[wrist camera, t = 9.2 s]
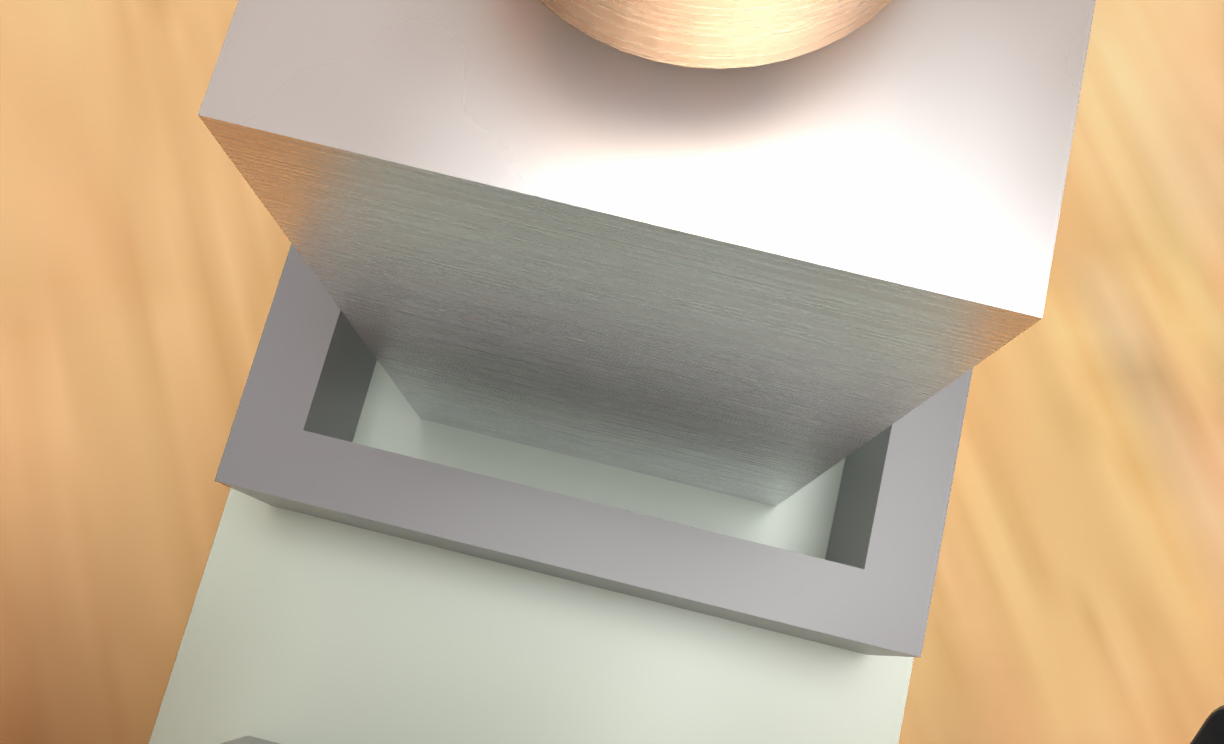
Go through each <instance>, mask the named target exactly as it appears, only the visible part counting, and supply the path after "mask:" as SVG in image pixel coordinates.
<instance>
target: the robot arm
mask: <svg viewBox="0 0 1224 744" xmlns="http://www.w3.org/2000/svg"><path fill="white" fill-rule="evenodd" d="M1190 744H1224V705H1223V706H1220V707H1219V708H1217V709H1216V710H1214V711H1213V712H1212V713H1211V714H1210V715H1209V717H1208V718H1207V719H1206V721H1205V722H1204V724H1203V725H1202V727H1201V728H1200V730H1199V731H1198V733H1197V734H1196V736H1195V737H1194V739H1193V740H1192V742H1191V743H1190Z"/></svg>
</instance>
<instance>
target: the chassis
mask: <svg viewBox="0 0 1224 744" xmlns="http://www.w3.org/2000/svg"><path fill="white" fill-rule="evenodd" d="M972 369H973V368H971V369H970V370H968V371H967V372H966V373H964V374H963V375H961V376H960V377H959V378H957V379H956V380H954V381H953V382H951V383H950V384H949V385H947V386H946V387H944V388H943V389H942V390H940V391H939V392H937V393H936V394H935V395H933V396H932V397H930V398H929V399H927V400H926V401H925V402H923V403H922V404H920V405H919V406H918V407H916V408H915V409H913V410H912V411H911V412H909V413H908V414H906V415H905V416H903V417H902V418H901V419H899V420H898V421H896V422H895V423H894V424H892V425H891V426H889V427H888V428H886V429H885V430H884V431H882V432H881V433H879V434H878V435H877V436H875V437H874V438H872V439H871V440H870V441H868V442H867V443H865V444H864V445H862V446H861V447H860V448H858V449H857V450H855V451H854V452H853V453H851V454H850V455H848V456H847V457H845V458H844V459H843V460H841V461H840V462H838V463H837V464H836V465H834V466H833V467H831V468H830V469H829V470H827V471H826V472H824V473H823V474H821V475H820V476H819V477H817V478H816V479H814V480H813V481H812V482H810V483H809V484H807V485H806V486H805V487H803V488H802V489H800V490H799V491H797V492H796V493H795V494H793V495H792V496H790V497H789V498H788V499H786V500H785V501H783V502H782V503H780V504H779V505H778V506H776V507H775V506H771V505H767V504H762V503H758V502H754V501H750V500H746V499H742V498H738V497H734V496H730V495H726V494H722V493H718V492H714V491H710V490H706V489H702V488H698V487H694V486H690V485H686V484H682V483H678V482H674V481H670V480H666V479H662V478H658V477H654V476H649V475H645V474H641V473H637V472H633V471H629V470H625V469H621V468H617V467H613V466H609V465H605V464H601V463H597V462H593V461H589V460H585V459H581V458H577V457H573V456H569V455H565V454H561V453H557V452H553V451H549V450H545V449H541V448H536V447H532V446H528V445H524V444H520V443H516V442H512V441H508V440H504V439H500V438H496V437H492V436H488V435H484V434H480V433H476V432H472V431H468V430H464V429H460V428H456V427H452V426H448V425H444V424H440V423H436V422H432V421H428V420H423V419H420V418H419V416H418V415H417V414H416V412H415V411H414V409H413V408H412V407H411V405H410V404H409V403H408V401H407V400H406V398H405V397H404V396H403V394H402V393H401V392H400V390H399V389H398V388H397V386H396V385H395V383H394V382H393V381H392V379H391V378H390V377H389V375H388V374H387V373H386V371H385V370H384V368H383V367H382V366H381V364H380V363H379V362H378V360H377V359H376V357H375V356H374V355H373V353H372V352H371V351H370V349H369V348H368V347H367V345H366V344H365V342H364V341H363V340H362V338H361V337H360V336H359V334H358V333H357V331H356V330H355V329H354V327H353V326H352V325H351V323H350V322H349V321H348V319H347V318H346V316H345V315H344V314H343V312H342V311H341V310H340V308H339V307H338V306H337V304H336V303H335V301H334V300H333V299H332V297H331V296H330V295H329V293H328V292H327V290H326V289H325V288H324V286H323V285H322V284H321V282H320V281H319V280H318V278H317V277H316V275H315V274H314V273H313V271H312V270H311V269H310V267H309V266H308V265H307V263H306V262H305V260H304V259H303V258H302V256H301V255H300V254H299V252H298V251H297V249H296V248H295V247H294V245H293V244H291V247H290V250H289V253H288V256H287V259H286V262H285V265H284V269H283V272H282V275H281V278H280V281H279V284H278V287H277V290H276V293H275V296H274V299H273V302H272V305H271V308H270V312H269V315H268V318H267V321H266V324H265V327H264V330H263V333H262V336H261V339H260V342H259V345H258V348H257V352H256V355H255V358H254V361H253V364H252V367H251V370H250V373H249V376H248V379H247V382H246V385H245V388H244V392H243V395H242V398H241V401H240V404H239V407H238V410H237V413H236V416H235V419H234V422H233V425H232V428H231V431H230V435H229V438H228V441H227V444H226V447H225V450H224V453H223V456H222V459H221V462H220V465H219V468H218V471H217V475H216V478H215V481H216V482H219V483H221V484H223V485H226V486H228V487H230V488H231V489H230V493H229V496H228V499H227V502H226V505H225V508H224V511H223V514H222V517H221V521H220V524H219V527H218V530H217V533H216V536H215V539H214V542H213V545H212V549H211V552H210V555H209V558H208V561H207V564H206V567H205V570H204V573H203V577H202V580H201V583H200V586H199V589H198V592H197V595H196V598H195V601H194V605H193V608H192V611H191V614H190V617H189V620H188V623H187V626H186V629H185V633H184V636H183V639H182V642H181V645H180V648H179V651H178V654H177V657H176V661H175V664H174V667H173V670H172V673H171V676H170V679H169V682H168V685H167V689H166V692H165V695H164V698H163V701H162V704H161V707H160V710H159V713H158V717H157V720H156V723H155V726H154V729H153V732H152V735H151V738H150V741H149V744H898V742H899V737H900V731H901V726H902V720H903V715H904V709H905V704H906V698H907V693H908V687H909V681H910V676H911V670H912V665H913V659H914V657H921V653H922V648H923V642H924V637H925V631H926V625H927V620H928V614H929V609H930V603H931V597H932V592H933V586H934V581H935V575H936V570H937V564H938V558H939V553H940V547H941V542H942V536H943V531H944V525H945V519H946V514H947V508H948V503H949V497H950V492H951V486H952V480H953V475H954V469H955V464H956V458H957V452H958V447H959V441H960V436H961V430H962V425H963V419H964V413H965V408H966V402H967V397H968V391H969V386H970V380H971V374H972Z"/></svg>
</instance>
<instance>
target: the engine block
mask: <svg viewBox="0 0 1224 744" xmlns="http://www.w3.org/2000/svg"><path fill="white" fill-rule="evenodd" d="M1095 1H1096V0H239V1H238V4H237V7H236V10H235V13H234V15H233V18H232V21H231V24H230V27H229V29H228V32H227V35H226V38H225V41H224V44H223V46H222V49H221V52H220V55H219V58H218V60H217V63H216V66H215V69H214V72H213V74H212V77H211V80H210V83H209V86H208V89H207V91H206V94H205V97H204V100H203V103H202V105H201V108H200V111H199V114H198V115H199V117H200V118H201V120H202V121H203V122H204V124H205V125H206V126H207V128H208V129H209V131H210V132H211V133H212V135H213V136H214V137H215V139H216V140H217V141H218V143H219V144H220V146H221V147H222V148H223V150H224V151H225V152H226V154H227V155H228V157H229V158H230V159H231V161H232V162H233V163H234V165H235V166H236V167H237V169H238V170H239V172H240V173H241V174H242V176H243V177H244V178H245V180H246V181H247V182H248V184H249V185H250V187H251V188H252V189H253V191H254V192H255V193H256V195H257V196H258V198H259V199H260V200H261V202H262V203H263V204H264V206H265V207H266V208H267V210H268V211H269V213H270V214H271V215H272V217H273V218H274V219H275V221H276V222H277V223H278V225H279V226H280V228H281V229H282V230H283V232H284V233H285V234H286V236H287V237H288V239H289V240H290V241H291V243H292V244H293V245H294V247H295V248H296V249H297V251H298V252H299V254H300V255H301V256H302V258H303V259H304V260H305V262H306V263H307V265H308V266H309V267H310V269H311V270H312V271H313V273H314V274H315V275H316V277H317V278H318V280H319V281H320V282H321V284H322V285H323V286H324V288H325V289H326V290H327V292H328V293H329V295H330V296H331V297H332V299H333V300H334V301H335V303H336V304H337V306H338V307H339V308H340V310H341V311H342V312H343V314H344V315H345V316H346V318H347V319H348V321H349V322H350V323H351V325H352V326H353V327H354V329H355V330H356V331H357V333H358V334H359V336H360V337H361V338H362V340H363V341H364V342H365V344H366V345H367V347H368V348H369V349H370V351H371V352H372V353H373V355H374V356H375V357H376V359H377V360H378V362H379V363H380V364H381V366H382V367H383V368H384V370H385V371H386V373H387V374H388V375H389V377H390V378H391V379H392V381H393V382H394V383H395V385H396V386H397V388H398V389H399V390H400V392H401V393H402V394H403V396H404V397H405V398H406V400H407V401H408V403H409V404H410V405H411V407H412V408H413V409H414V411H415V412H416V414H417V415H418V416H419V418H420V419H423V420H428V421H432V422H436V423H440V424H444V425H448V426H452V427H456V428H460V429H464V430H468V431H472V432H476V433H480V434H484V435H488V436H492V437H496V438H500V439H504V440H508V441H512V442H516V443H520V444H524V445H528V446H532V447H536V448H541V449H545V450H549V451H553V452H557V453H561V454H565V455H569V456H573V457H577V458H581V459H585V460H589V461H593V462H597V463H601V464H605V465H609V466H613V467H617V468H621V469H625V470H629V471H633V472H637V473H641V474H645V475H649V476H654V477H658V478H662V479H666V480H670V481H674V482H678V483H682V484H686V485H690V486H694V487H698V488H702V489H706V490H710V491H714V492H718V493H722V494H726V495H730V496H734V497H738V498H742V499H746V500H750V501H754V502H758V503H762V504H767V505H771V506H775V507H776V506H778V505H779V504H780V503H782V502H783V501H785V500H786V499H788V498H789V497H790V496H792V495H793V494H795V493H796V492H797V491H799V490H800V489H802V488H803V487H805V486H806V485H807V484H809V483H810V482H812V481H813V480H814V479H816V478H817V477H819V476H820V475H821V474H823V473H824V472H826V471H827V470H829V469H830V468H831V467H833V466H834V465H836V464H837V463H838V462H840V461H841V460H843V459H844V458H845V457H847V456H848V455H850V454H851V453H853V452H854V451H855V450H857V449H858V448H860V447H861V446H862V445H864V444H865V443H867V442H868V441H870V440H871V439H872V438H874V437H875V436H877V435H878V434H879V433H881V432H882V431H884V430H885V429H886V428H888V427H889V426H891V425H892V424H894V423H895V422H896V421H898V420H899V419H901V418H902V417H903V416H905V415H906V414H908V413H909V412H911V411H912V410H913V409H915V408H916V407H918V406H919V405H920V404H922V403H923V402H925V401H926V400H927V399H929V398H930V397H932V396H933V395H935V394H936V393H937V392H939V391H940V390H942V389H943V388H944V387H946V386H947V385H949V384H950V383H951V382H953V381H954V380H956V379H957V378H959V377H960V376H961V375H963V374H964V373H966V372H967V371H968V370H970V369H971V368H973V367H974V366H976V365H977V364H978V363H980V362H981V361H983V360H984V359H985V358H987V357H988V356H990V355H991V354H992V353H994V352H995V351H997V350H998V349H1000V348H1001V347H1002V346H1004V345H1005V344H1007V343H1008V342H1009V341H1011V340H1012V339H1014V338H1015V337H1016V336H1018V335H1019V334H1021V333H1022V332H1024V331H1025V330H1026V329H1028V328H1029V327H1031V326H1032V325H1033V324H1035V323H1036V322H1038V321H1039V320H1041V319H1042V317H1043V311H1044V305H1045V299H1046V293H1047V287H1048V281H1049V275H1050V269H1051V264H1052V258H1053V252H1054V246H1055V240H1056V234H1057V228H1058V222H1059V216H1060V210H1061V204H1062V198H1063V192H1064V186H1065V180H1066V174H1067V168H1068V162H1069V156H1070V150H1071V144H1072V138H1073V132H1074V126H1075V120H1076V114H1077V108H1078V103H1079V97H1080V91H1081V85H1082V79H1083V73H1084V67H1085V61H1086V55H1087V49H1088V43H1089V37H1090V31H1091V25H1092V19H1093V13H1094V7H1095Z"/></svg>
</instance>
